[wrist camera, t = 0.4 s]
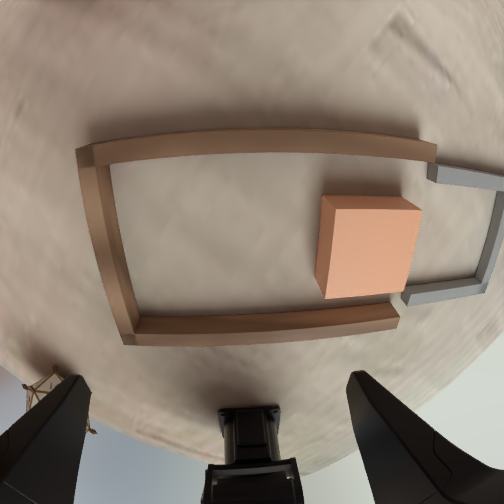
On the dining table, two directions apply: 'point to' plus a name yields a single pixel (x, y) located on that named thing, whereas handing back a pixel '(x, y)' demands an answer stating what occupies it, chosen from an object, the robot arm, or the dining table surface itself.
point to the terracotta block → (365, 244)
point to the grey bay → (499, 228)
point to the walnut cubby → (231, 326)
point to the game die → (46, 391)
